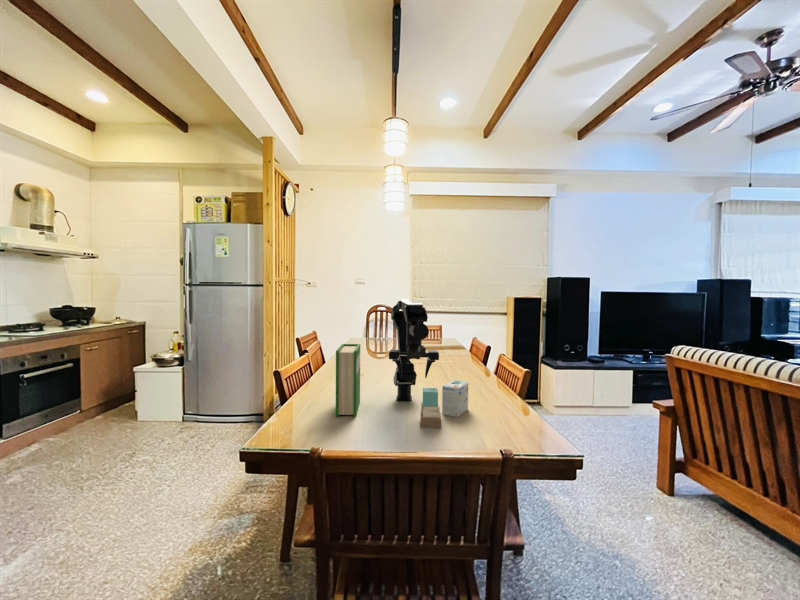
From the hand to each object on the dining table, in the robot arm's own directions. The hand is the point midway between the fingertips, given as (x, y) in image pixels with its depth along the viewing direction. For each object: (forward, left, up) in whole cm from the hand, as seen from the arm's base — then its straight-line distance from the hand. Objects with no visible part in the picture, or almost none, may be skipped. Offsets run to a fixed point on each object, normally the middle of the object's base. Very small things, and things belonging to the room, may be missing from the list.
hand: (413, 377), depth 137 cm
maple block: (+12, +6, -10) cm, 17 cm away
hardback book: (-1, -25, -13) cm, 28 cm away
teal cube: (+12, +6, -6) cm, 15 cm away
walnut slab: (+12, +6, -13) cm, 19 cm away
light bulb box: (-1, +16, -13) cm, 21 cm away
